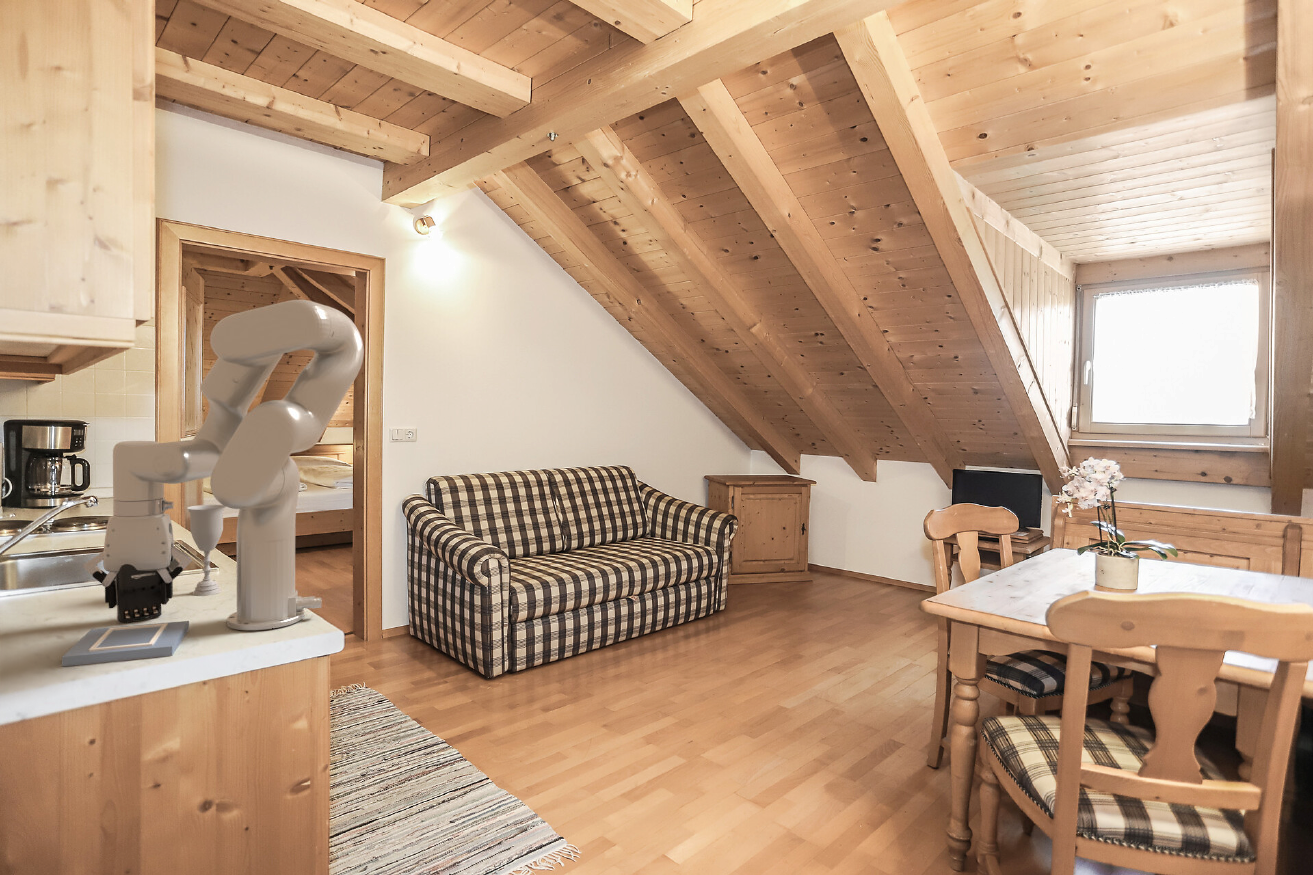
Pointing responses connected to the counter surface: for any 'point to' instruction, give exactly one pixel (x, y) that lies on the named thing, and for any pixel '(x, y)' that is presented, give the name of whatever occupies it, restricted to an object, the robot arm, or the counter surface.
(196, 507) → the chalice
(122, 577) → the battery charger
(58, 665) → the counter surface
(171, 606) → the counter surface
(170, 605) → the counter surface
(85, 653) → the grey flat square block
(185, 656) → the counter surface
